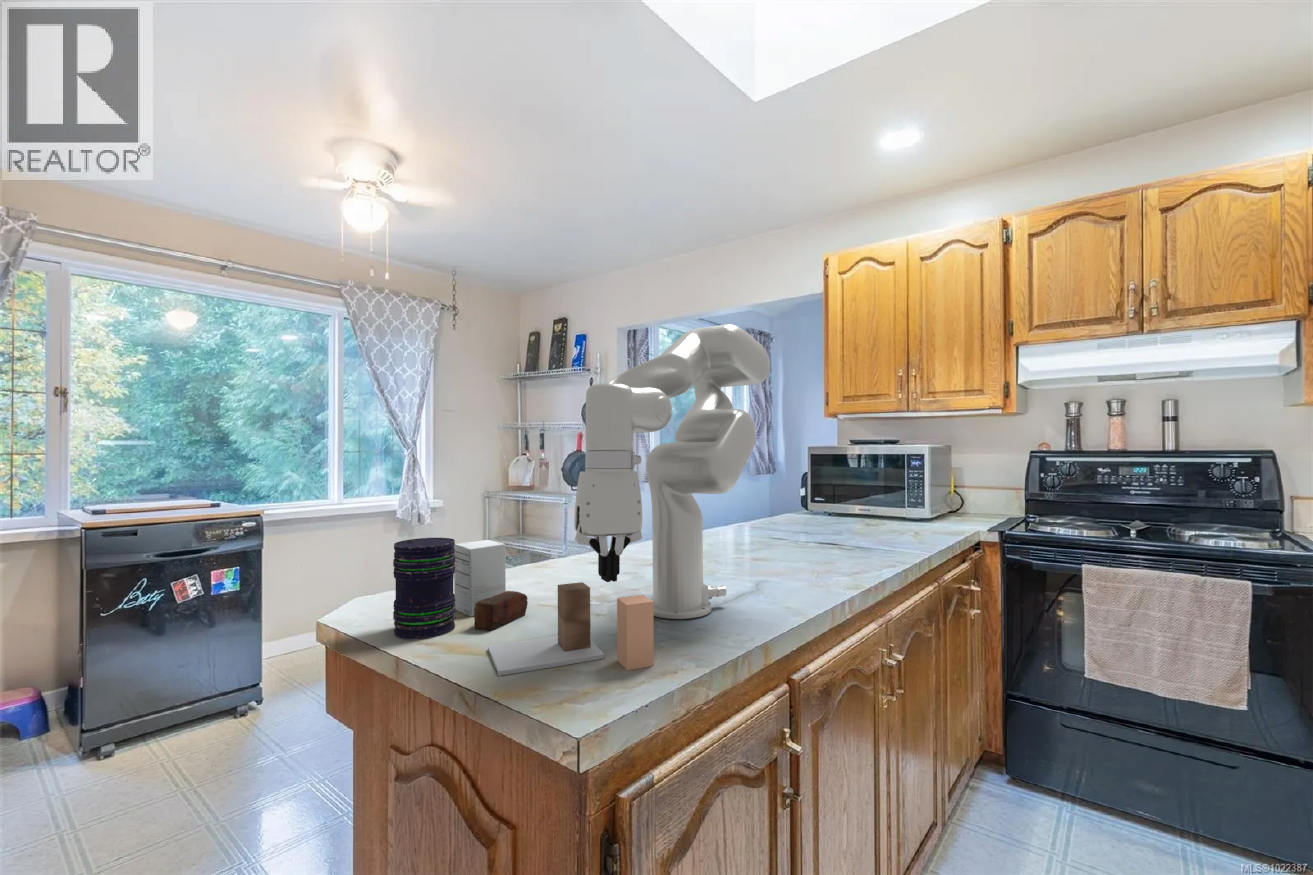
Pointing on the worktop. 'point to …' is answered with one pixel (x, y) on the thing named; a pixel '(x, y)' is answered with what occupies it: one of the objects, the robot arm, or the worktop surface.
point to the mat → (537, 655)
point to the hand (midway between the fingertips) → (608, 579)
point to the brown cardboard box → (574, 616)
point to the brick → (499, 610)
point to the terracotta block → (635, 632)
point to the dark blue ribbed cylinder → (424, 588)
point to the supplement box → (478, 573)
